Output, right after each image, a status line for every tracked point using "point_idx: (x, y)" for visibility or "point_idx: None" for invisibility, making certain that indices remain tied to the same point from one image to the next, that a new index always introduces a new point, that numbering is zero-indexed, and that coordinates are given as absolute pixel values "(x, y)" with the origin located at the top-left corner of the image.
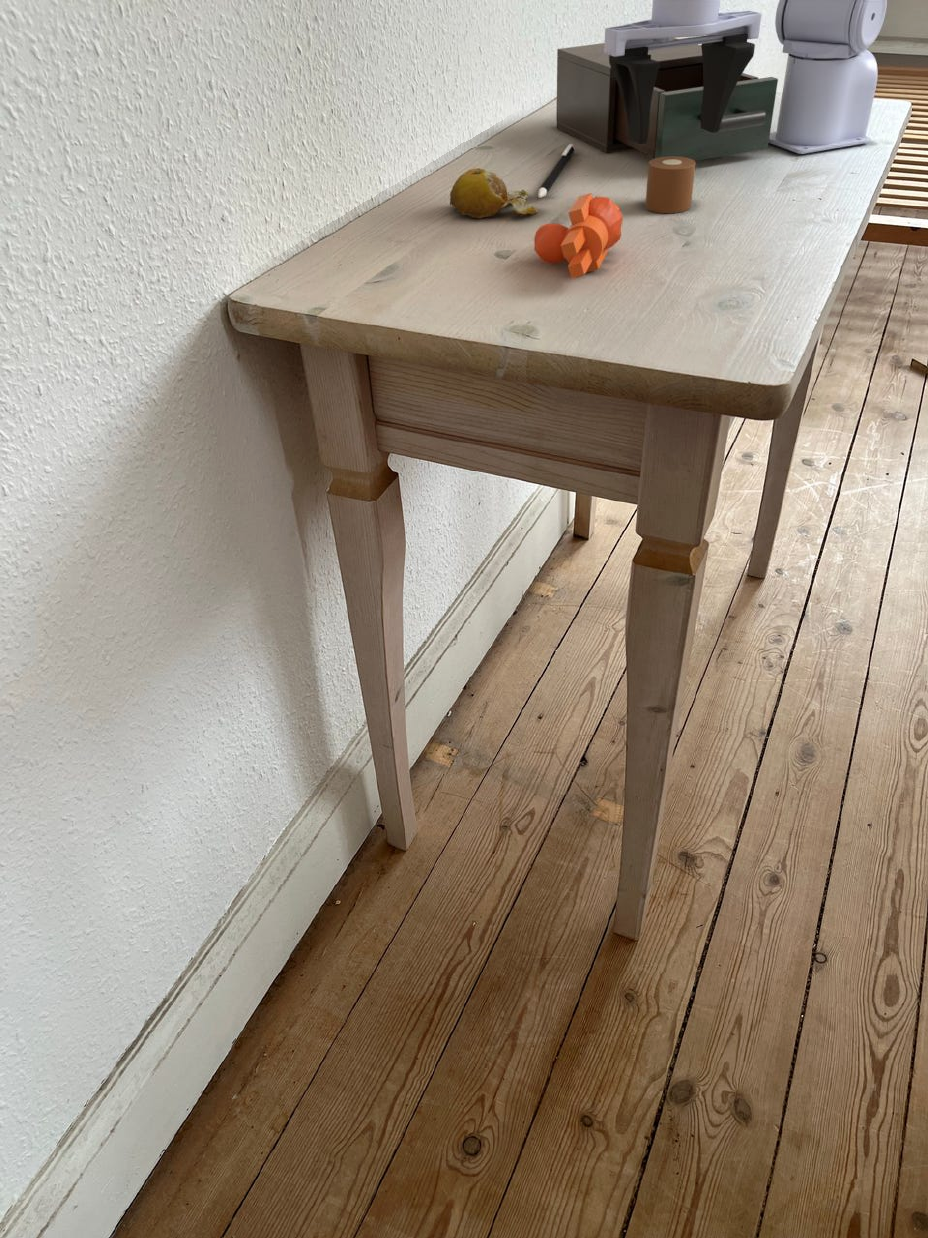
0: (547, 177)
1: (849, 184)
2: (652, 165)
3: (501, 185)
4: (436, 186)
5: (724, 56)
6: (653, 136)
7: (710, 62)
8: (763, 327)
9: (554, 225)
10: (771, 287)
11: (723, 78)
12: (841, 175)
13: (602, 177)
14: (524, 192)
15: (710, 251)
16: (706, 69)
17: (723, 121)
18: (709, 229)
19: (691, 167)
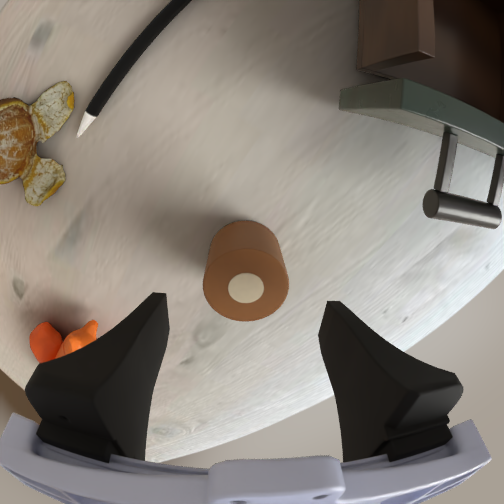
0: (125, 53)
1: (459, 294)
2: (205, 285)
3: (7, 166)
4: (20, 11)
5: (354, 450)
6: (371, 56)
7: (369, 401)
8: (165, 447)
9: (39, 360)
10: (201, 430)
11: (341, 417)
12: (479, 265)
13: (243, 53)
14: (68, 105)
15: (199, 380)
16: (369, 376)
17: (436, 218)
18: (236, 343)
19: (259, 318)
